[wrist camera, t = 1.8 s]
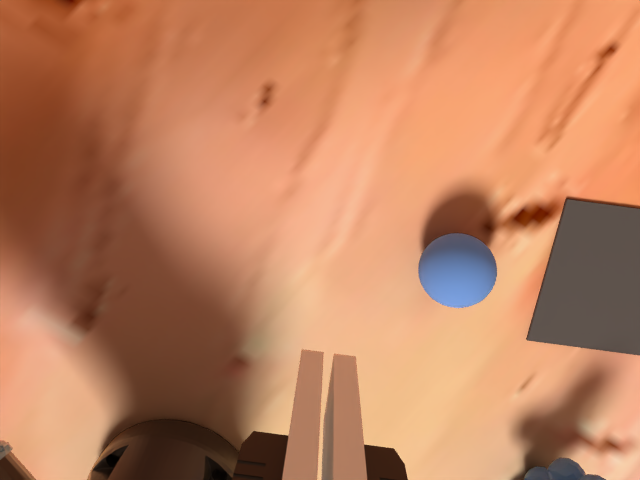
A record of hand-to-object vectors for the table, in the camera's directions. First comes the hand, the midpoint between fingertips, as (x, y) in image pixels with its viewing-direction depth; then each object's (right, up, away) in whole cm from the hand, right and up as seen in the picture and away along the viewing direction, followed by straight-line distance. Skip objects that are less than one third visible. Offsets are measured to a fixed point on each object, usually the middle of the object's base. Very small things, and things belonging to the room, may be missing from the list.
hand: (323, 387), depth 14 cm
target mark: (+24, +2, +19) cm, 30 cm away
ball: (+10, +3, +16) cm, 19 cm away
